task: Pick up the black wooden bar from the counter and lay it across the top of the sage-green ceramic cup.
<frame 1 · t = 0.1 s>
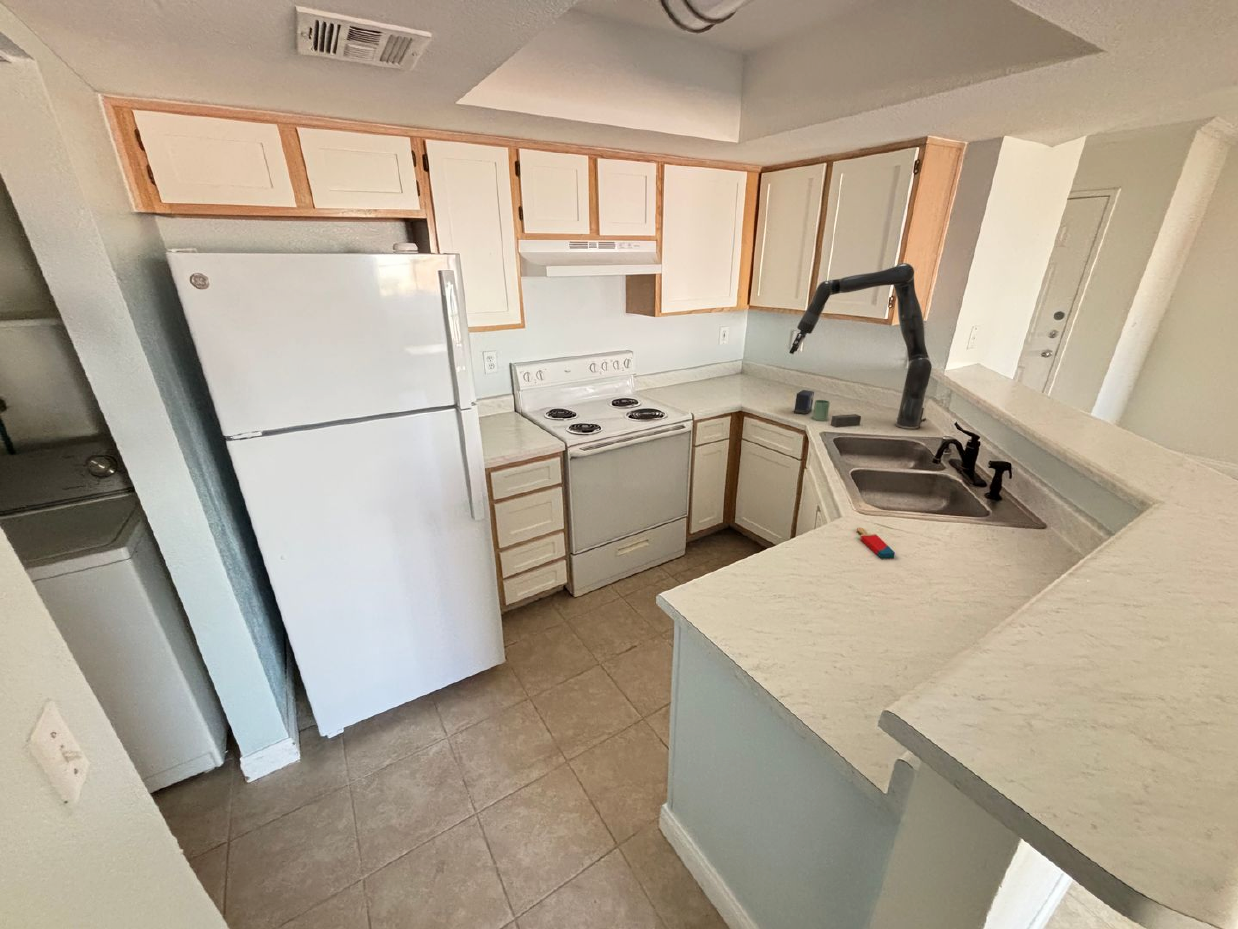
hand: (792, 352, 253), 31 cm above the counter, tool tilted 20°, fingers open, 8 cm apart
small box: (803, 411, 266), on the counter
cup: (819, 418, 253), on the counter
bar: (845, 424, 243), on the counter
popsicle: (872, 544, 141), on the counter
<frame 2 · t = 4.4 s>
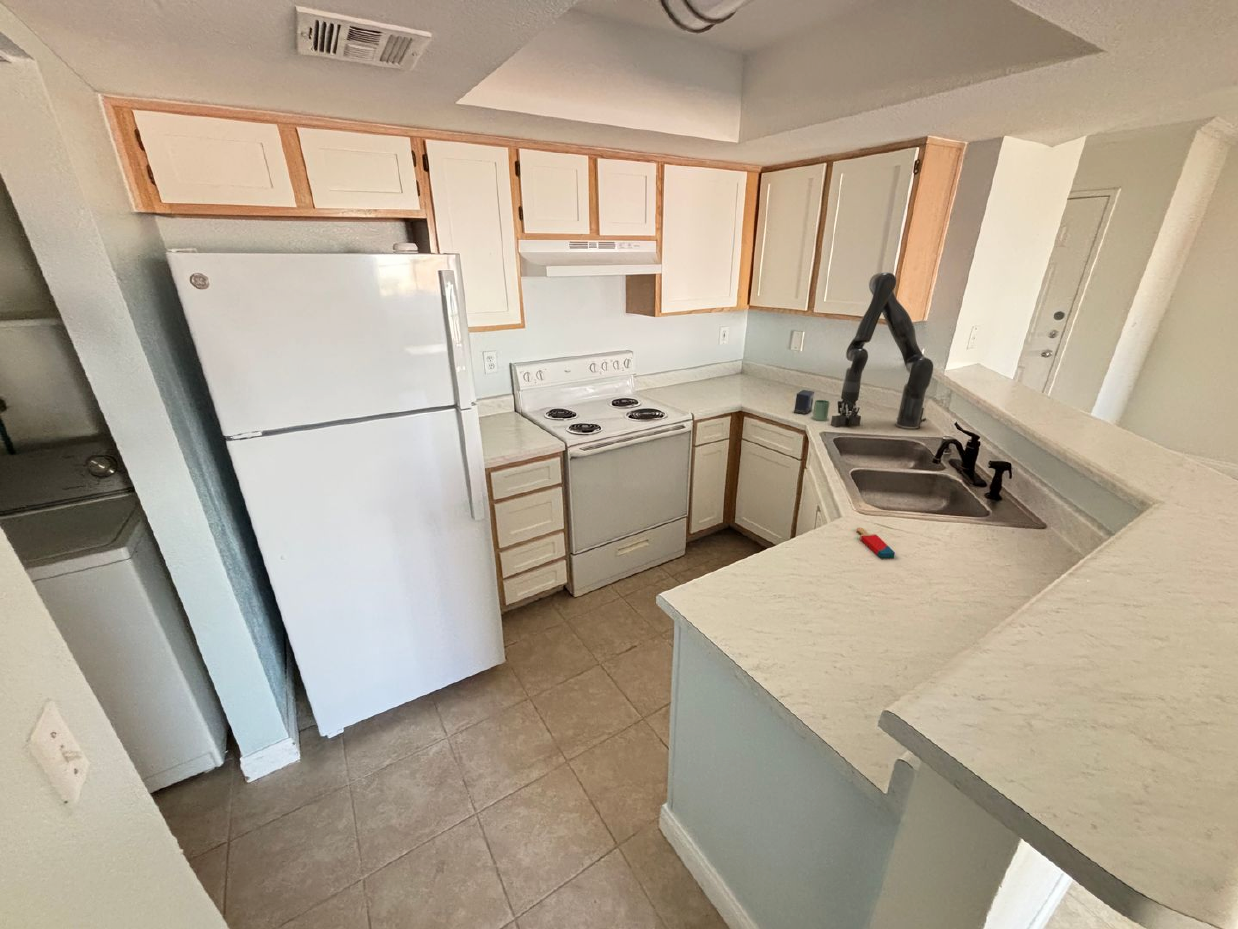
hand: (845, 424, 243), 0 cm above the counter, tool pointing down, fingers closed on bar, 4 cm apart
bar: (845, 424, 243), on the counter, touching gripper
everything else where it was.
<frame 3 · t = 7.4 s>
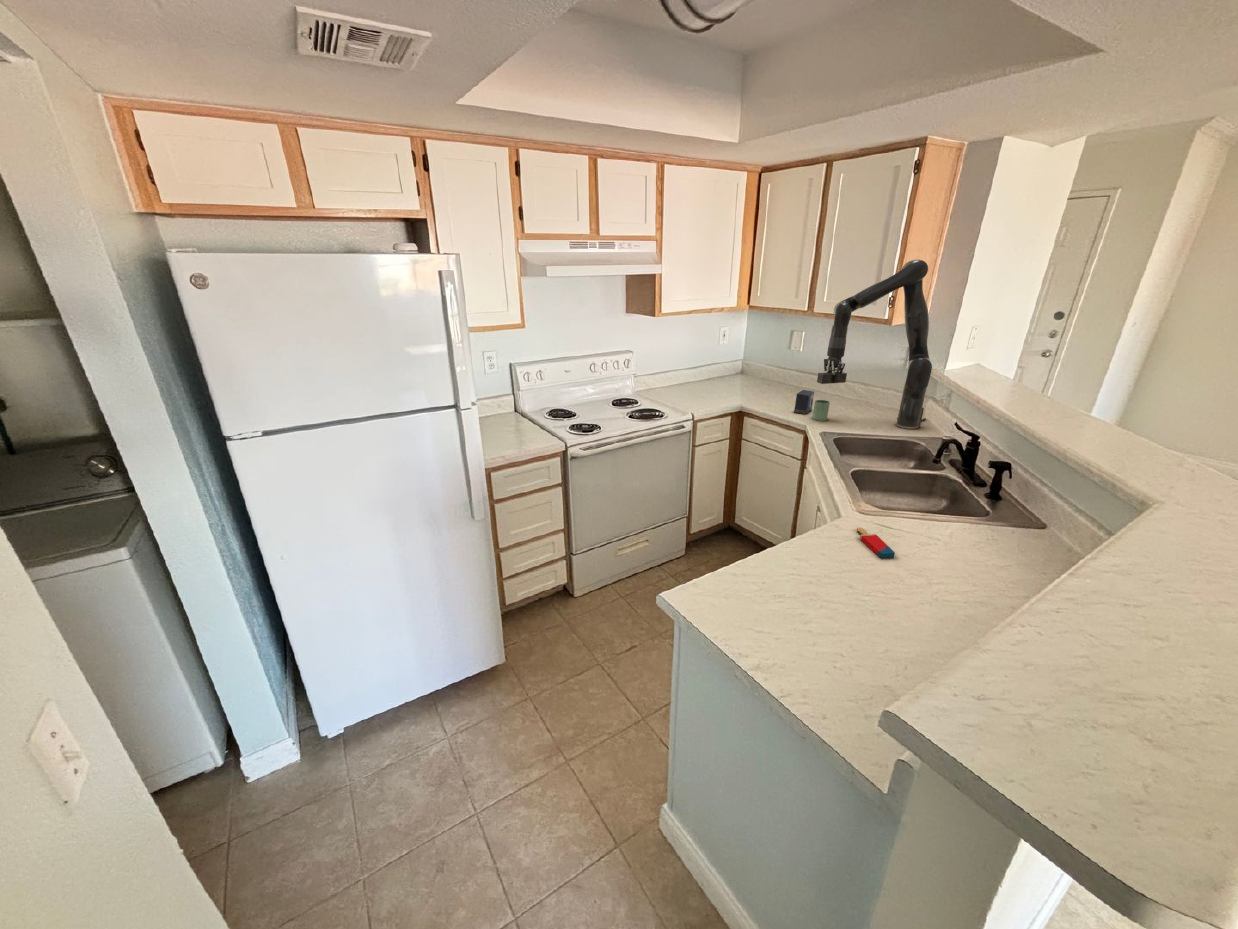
hand: (831, 381, 244), 19 cm above the counter, tool pointing down, fingers closed on bar, 4 cm apart
bar: (831, 382, 244), point 19 cm above the counter, touching gripper
everything else where it was.
when the fingers open (9 cm above the counter, at t = 10.4 s): bar stays where it is, resting on cup.
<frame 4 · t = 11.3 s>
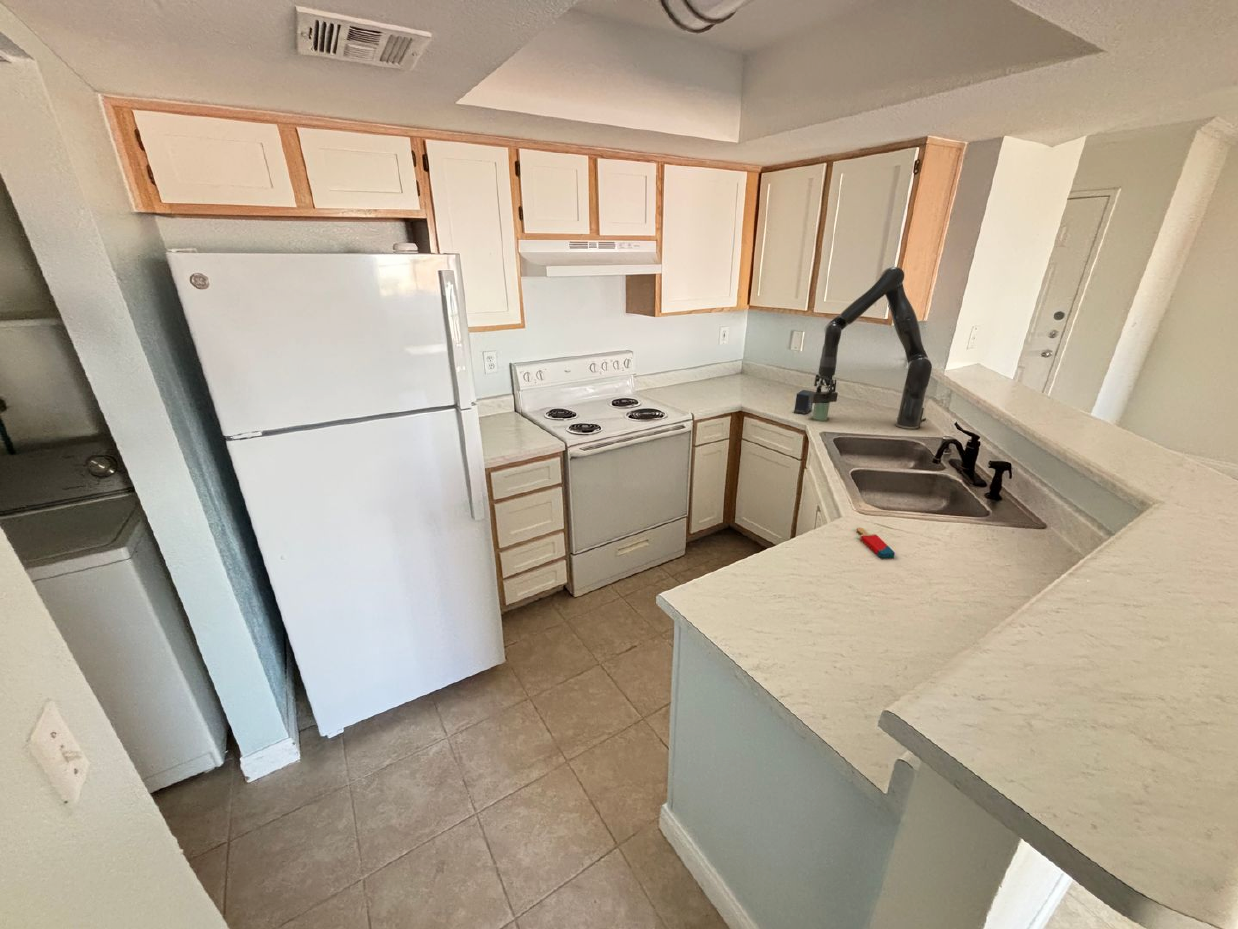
hand: (823, 397, 249), 11 cm above the counter, tool pointing down, fingers open, 8 cm apart
cup: (819, 418, 253), on the counter, touching bar
bar: (822, 401, 250), point 9 cm above the counter, touching cup
everything else where it was.
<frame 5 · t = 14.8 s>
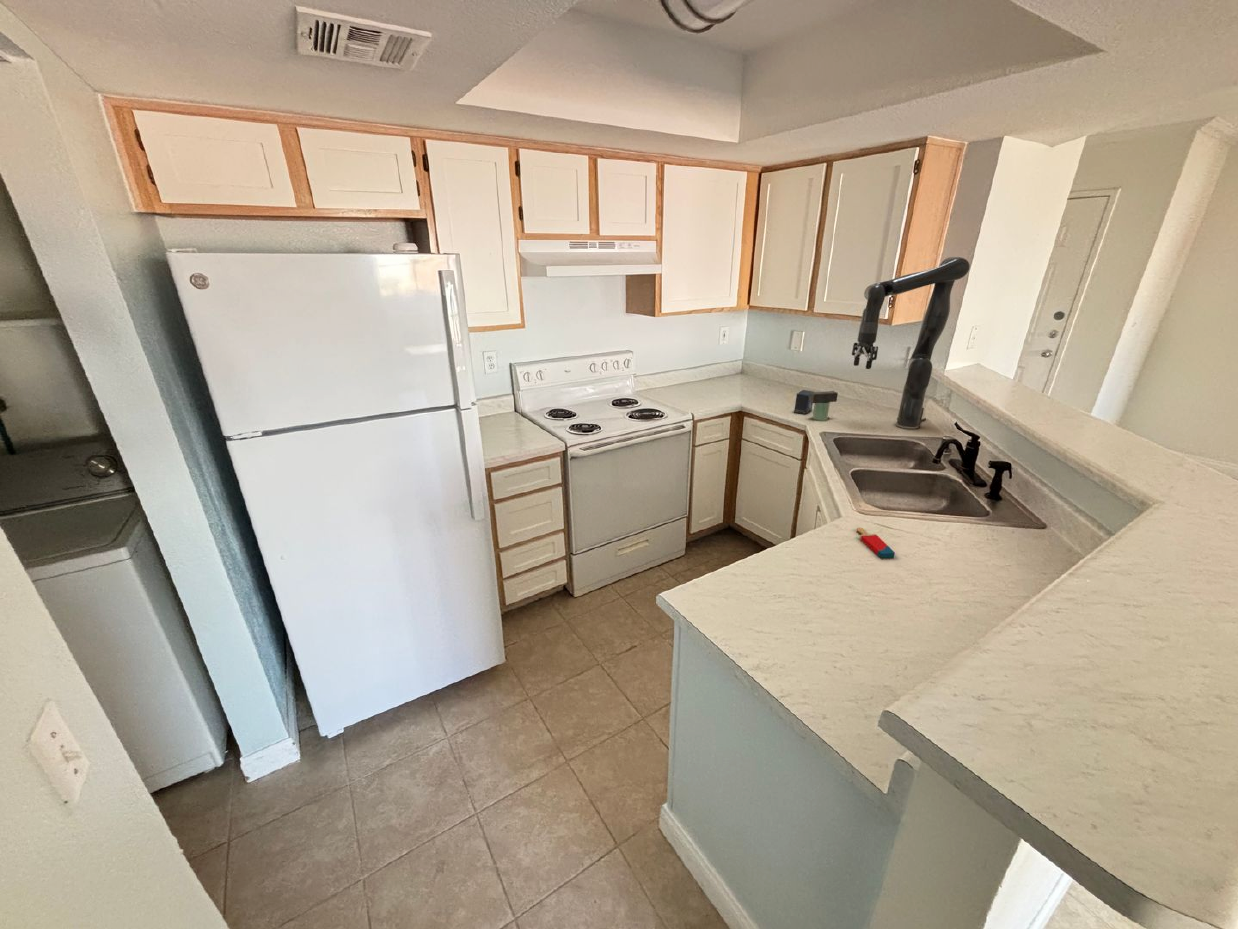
hand: (861, 367, 233), 28 cm above the counter, tool pointing down, fingers open, 8 cm apart
nothing on the counter moved.
at the end: bar 0.0 cm off-centre on the cup, point 9.0 cm above the cup's base; the gripper is holding nothing; cup tilted 0° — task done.
